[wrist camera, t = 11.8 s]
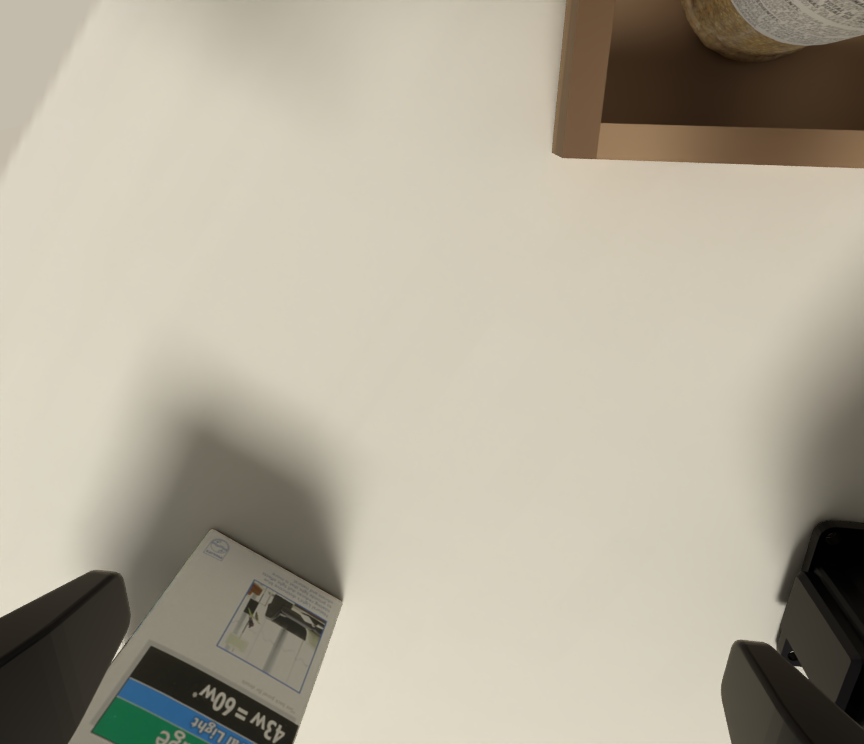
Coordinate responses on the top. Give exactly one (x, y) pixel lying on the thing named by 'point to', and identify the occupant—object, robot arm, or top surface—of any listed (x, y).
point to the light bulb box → (217, 656)
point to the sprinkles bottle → (772, 25)
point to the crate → (700, 94)
